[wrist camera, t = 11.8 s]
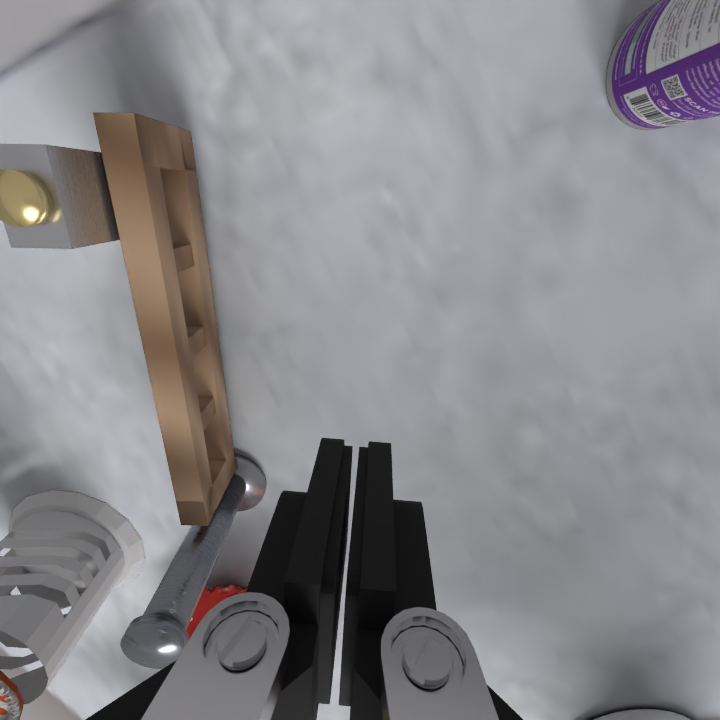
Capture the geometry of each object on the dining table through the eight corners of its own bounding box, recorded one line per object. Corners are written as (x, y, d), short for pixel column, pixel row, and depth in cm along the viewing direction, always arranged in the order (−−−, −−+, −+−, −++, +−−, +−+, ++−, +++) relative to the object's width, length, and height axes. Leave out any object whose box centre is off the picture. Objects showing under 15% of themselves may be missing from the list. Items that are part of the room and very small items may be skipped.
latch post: (171, 162, 19) (29, 142, 11) (180, 228, 20) (58, 251, 12) (129, 161, 19) (-40, 140, 11) (142, 227, 20) (-5, 250, 13)
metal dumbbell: (263, 454, 26) (196, 616, 16) (268, 508, 27) (210, 683, 18) (195, 452, 26) (87, 611, 16) (204, 505, 27) (111, 679, 18)
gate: (236, 469, 25) (207, 525, 21) (213, 468, 25) (181, 524, 21) (190, 131, 18) (133, 112, 14) (159, 131, 18) (93, 112, 14)
